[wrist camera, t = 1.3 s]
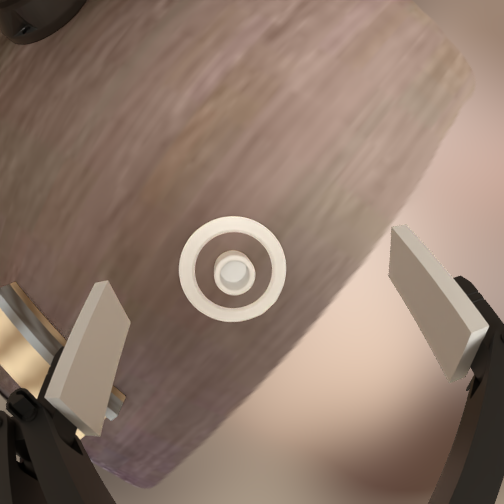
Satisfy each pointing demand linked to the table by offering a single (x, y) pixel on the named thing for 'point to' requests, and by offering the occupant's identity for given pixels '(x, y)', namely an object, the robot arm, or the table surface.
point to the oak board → (33, 345)
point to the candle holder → (232, 269)
